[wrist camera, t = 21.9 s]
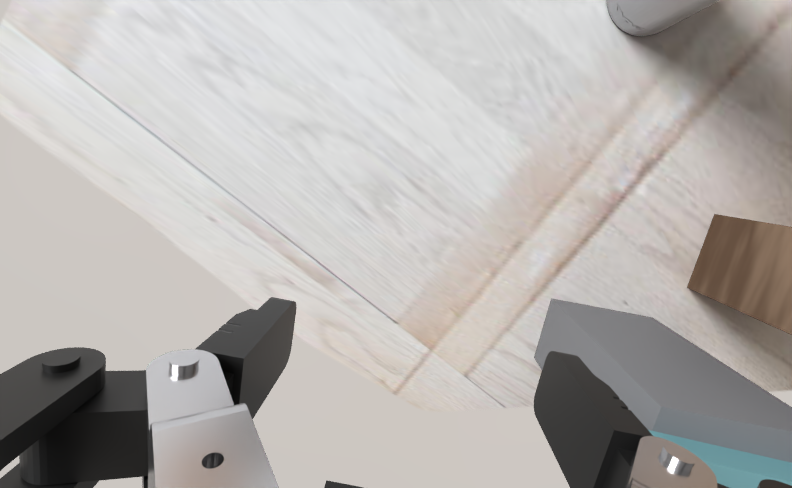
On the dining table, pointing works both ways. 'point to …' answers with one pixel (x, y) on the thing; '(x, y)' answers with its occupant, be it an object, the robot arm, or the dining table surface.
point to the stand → (748, 269)
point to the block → (735, 463)
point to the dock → (669, 379)
